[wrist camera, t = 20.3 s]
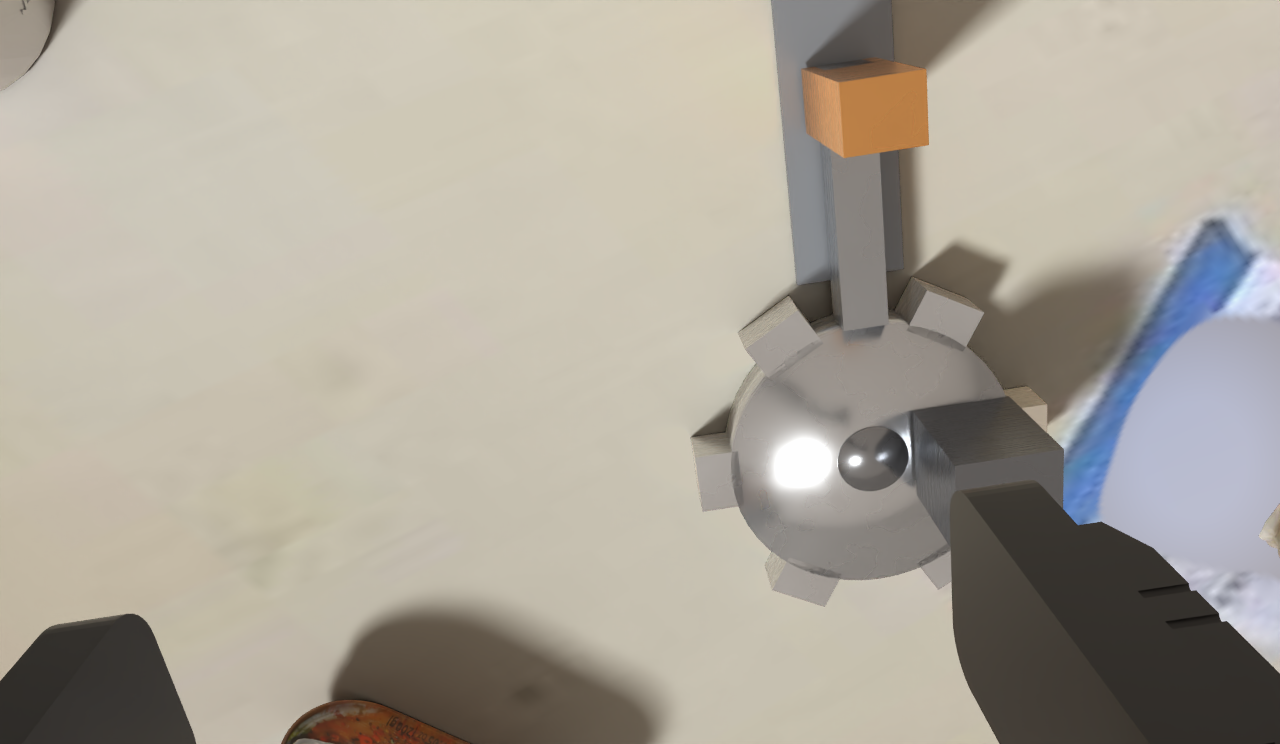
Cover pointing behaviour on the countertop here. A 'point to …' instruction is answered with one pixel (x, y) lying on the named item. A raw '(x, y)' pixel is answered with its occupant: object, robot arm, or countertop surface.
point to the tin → (362, 726)
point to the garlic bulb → (1272, 530)
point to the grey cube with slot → (980, 453)
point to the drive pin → (861, 170)
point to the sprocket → (845, 439)
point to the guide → (804, 37)
